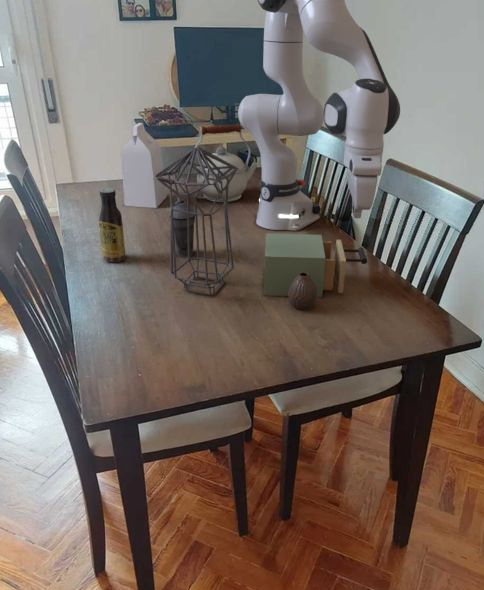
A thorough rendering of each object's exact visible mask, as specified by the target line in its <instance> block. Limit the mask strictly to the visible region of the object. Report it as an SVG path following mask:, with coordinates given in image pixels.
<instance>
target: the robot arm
mask: <svg viewBox="0 0 484 590" xmlns="http://www.w3.org/2000/svg"><path fill="white" fill-rule="evenodd" d="M257 2H258V4H259V6H260V8H261V9H262V10H264V11H266V12H265V17H264V18H265V19H264V27H263V54H262V56H263V59H262V61H263V62H262V63H263V64H262V68H263V71H264V73H265V75H266V77H268V78H269V79H270V80H272V81H273V82H275V83H277V84H278V85H279V86H280V87H281V89H282V92H283V93H282V94H271V93H256V94H250V95H246V96H244V98H242V100H241V101H240V104H239V106H238V110H237V115H238V120H239V124H240V125H241V128H243V129H244V130H245V132H247V133H248V134H249V135H250V136H251V137H252V138H253V140H254V142H255V143H256V145H257V148H258V150H259V154H260V160H261V161H260V163H261V178H260V180H259V192H260V194H259V199H258V201H259V202H258V209H257V210H258V211H257V213H256V220H255V223H256V225H258V226H259V227H260V228H263V229H265V230H266V229H267V230H272V231H273V230H274V231H292V232H293V231H294V232H297V231H300V230H302V229H304V228H306V227H307V226H309V225H311V224H313V223H314V222H316V221H318V220H320V218H321V217H320V215H319V214H320V212H321V210H322V209H321V205H319V204H318V203H316V202H315V201H312V200H311V198H310V197H309V196H307V195H306V194H305V193H304V192H302V191H301V189H300V187H302V188H304V187H305V186H306V181H305V180H304V179H301V178H300V179H297V172H298V157H297V154H296V152H295V151H294V150H293V149H292V148H291V147H289V146H287V145H286V144H284V143H283V142H282V140H281V139H280V136H292V137H293V136H295V137H303V136H311V135H316V134H317V133H318V132H319V131H320V130H321V128H322V127H323V124H324V126H325V127H326V129H327V130H328V131H329V132H330V133H331V134H333V135H338V136H345V137H346V138H345V141H344V149H343V150H344V152H343V161H342V164H343V166H345V167H346V168H347V180H346V181H347V187H348V189H349V192H350V196H351V203H352V204H351V212H352V216H353V218H354V219H361V218H362V214H363V213H362V212H363V211H370V210H371V209H372V207H373V204H374V200H375V196H376V190H377V186H378V185H377V184H378V179H379V177H378V176H381V174H382V167H383V164H382V163H383V161H382V160H383V154H384V147H385V141H384V135H387V134H388V133H389V132H391V131H392V130H393V128H394V127H395V126H396V125H397V123H398V121H399V119H400V115H401V104H400V100H399V97H398V96H397V95H396V92H395V91H394V90H393V88H392V87H391V85H390V83H389V82H388V79H387V76H386V75H385V73H384V69H383V67H382V65H381V62H380V60H379V57H378V55H377V52H376V50H375V48H374V46H373V44H372V42H371V40H370V37H369V35H368V34H367V32H366V31H365V30H364V29H363V28H362V27H361V26H360V25H359V24H358V23H357V22H356V21H355V19H354V18H353V16H352V15H351V13H350V11H349V9H348V7H347V5H346V1H345V0H257ZM304 36H305V38H306V40H307V41H308V43H309V44H310V45H311V46H312V47H313V48H314V49H316V50H318V51H320V52H322V53H326V54H329V55H333V56H335V57H338V58H340V59H343V60H344V61H346V62H348V63H349V64H350V65H352V66H353V68H354V70H355V71H356V73H357V75H358V79H357V80H355V81H354V82H353V83H352V85H351V86H350V87H348V88H346V89H343V90H340V91H336V92H333V93H331V95H330V96H329V97H328V99H327V100H326V101H325V104H324V106H323V104H322V103H321V101H320V100H319V99H318V98H317V97H315V95H314V94H313V93H312V92H311V90H310V88H309V86H308V85H307V81H306V79H305V75H304V69H303V68H304V61H303V58H304V57H303V56H304V54H303V53H304V51H303V50H304Z"/></svg>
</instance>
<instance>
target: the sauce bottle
mask: <svg viewBox="0 0 484 590" xmlns="http://www.w3.org/2000/svg"><path fill="white" fill-rule="evenodd" d="M116 195H117V193H116V189H115V188H112V187H103V188H100V189H99V196H100V202H101V209H100V213H99V218H98V227H99V234H100V243H101V244H100V245H101V252H102V255H103V260H104V261H105V262H108V263H119V262H121V261H123V260H125V258H126V246H125V245H126V243H125V235H124V234H125V233H124V225H123V217H122V213H121V210H119V208H118V206H117V200H116Z"/></svg>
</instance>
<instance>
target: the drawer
mask: <svg viewBox="0 0 484 590" xmlns="http://www.w3.org/2000/svg"><path fill="white" fill-rule="evenodd" d="M332 243H333V242H332V241H330V240H327V241H325V240H323V246H324V252H325V269H324V281H323V291H333V287H334V280H335V284H336V289H337V294H343V292H344V283H345V277H346V276H345V275H346V266H347V265H346V264H347V263H348V262H350V263H360V264H362V265H366V264H367V263H368V259H367V254H366V252H365V248H364V247H362V246H361V247H358V249H357V248H356V249H355V248H344V247H343V242H342V239H336V243H335V251H334V252H335V253H334V258H331V257H332V256H331V255H332V246H333V245H332ZM345 253H357V254H358V256H359V258H346V255H345ZM334 278H335V279H334Z"/></svg>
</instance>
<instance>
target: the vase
mask: <svg viewBox="0 0 484 590" xmlns="http://www.w3.org/2000/svg"><path fill="white" fill-rule="evenodd" d="M287 297H288V301H289V304H290V305H291V306H292V307H293V308H294V309H296V310H298V311H306V310H309V309H311V308H312V307H313V306H314V304H315V303H316V300H317V298H318V297H317V289H316V286H315V283H314V282H313V281H312V279H311V278H310V276H309V274H308V273H306V272H301V273H299V274H298V276H297V277H296V278H295V279H294V280H293V282H292V283H291V285H290V287H289V292H288V296H287Z"/></svg>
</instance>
